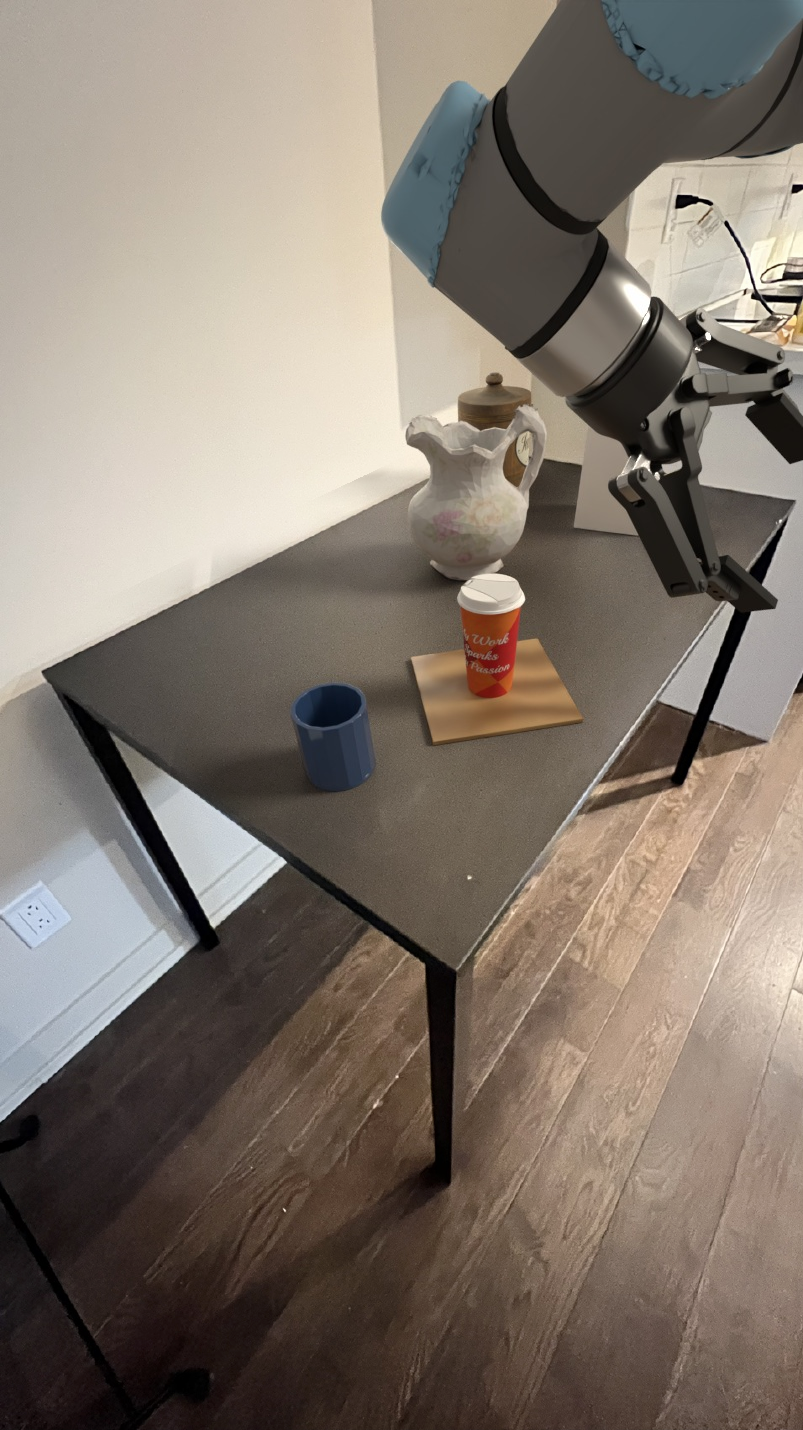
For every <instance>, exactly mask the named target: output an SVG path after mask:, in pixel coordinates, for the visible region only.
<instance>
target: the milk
mask: <svg viewBox="0 0 803 1430" xmlns="http://www.w3.org/2000/svg"><path fill="white" fill-rule="evenodd" d="M628 460H629V458H628V456H627V453H626V451H625V449H624V447H623V446H622V444H621V443H620V442H619V441H617V440H615V439H612V438H610V437H606V436H603V435H600V434H598V433H597V432H595V431H594V430H593V429H592V428H591V427H590V426H589V425H588V424H587V430H586V438H585V445H584V451H583V459H582V465H581V473H580V478H579V485H578V486H579V487H578V493H577V501H576V507H575V508H576V509H575V514H574V521H573V528H574V529H580V530H581V529H583V530H590V531H597V532H606V533H614V534H622V535H631V536H636V537H637V536H638V537H639V535H638V533H637V531H636V529H635V527H634V525H633V523H632V521H631V519H630V517H629V515H628V513H627V511H626V509H625V508H624V507H623V506H622V505H621V504H620V503H619V502H618V501H617V500H616V499H615V498H614V497H613V496H612V495H611V493H610V492H609V489H608V482H609V480H610V479H611V478H613V477H616V476H618V475H621V474H622V472H623V470H624V468H625V466H626V464H627V462H628Z"/></svg>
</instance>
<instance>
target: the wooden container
mask: <svg viewBox="0 0 803 1430" xmlns="http://www.w3.org/2000/svg"><path fill="white" fill-rule="evenodd" d="M503 382H504V377H503V375H502V374H500V372H491V373H489V374H488V375H487V376H486V377H485V383H486V384H487V385H486V386H484V387H476V388H472V389H469V390H467V391H463V392H461V393H460V394H459V395H458V396H457V422H459V421H464V422H467V423H468V424H470V425H472V426H473V427H475V428H477V429H478V430H480V431H482V430H485V429H490V428H494V427H496V428H501V429H507V428H508V426H509V425H510V424H511V422H512V420H513V419H514V417H515V412H516V411H514V409H516V408H518V406H520V407H522V405H528V404H529V405H530V407H531V404H532V391H530V390H529V389H527V388H523V387H520V386H511V385H503ZM530 434H531V433H530V432H529V431H528V432H525V433H523V434H521V435H520V436H518V437H517V438H516V439H515V440H514V441H513V442H512V443H511V444H510V445H509V447H508V449H507V451H506V454H505V458H504V462H503V474H504V477H505V479H506V480H508V481H509V482H510V483H511V484H513V485H514V486H516V487H519V486H520V484H521V481H522V479H523V475H524V472H525V469H526V467H527V464H528V462H529V460H530V458H529V457H530Z"/></svg>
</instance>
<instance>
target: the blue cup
mask: <svg viewBox="0 0 803 1430" xmlns="http://www.w3.org/2000/svg"><path fill="white" fill-rule="evenodd" d="M369 717H370V716H369V711H368V705H367V699H366V695H365V694H364V693H363V692H362V691H361V690H360V688H358V687H357V686H354V685H352V684H350V683H344V682H336V681H335V682H327V683H321V684H316V685H315V686H312V687H310V688H307V689H305V690H304V691H303V692H301V693H300V694H299V695H297V696H296V697H295V699H294V701H293V702H292V704H291V705H290V718H291V723H292V726H293V730H294V734H295V737H296V741H297V746H298V749H299V754H300V757H301V761H302V765H303V769H304V772H305V774H306V777H307V779H308V781H309V782H310V784H312V785H313V786H315V787H316V788H318V789H320V790H323V791H327V792H343V791H348V790H351V789H354V788H357V787H359V786H360V785H362V784H363V783H365V782H366V781H367V780H368V779H369V778H370V777H371V776H372V774H373V772H374V771H375V767H376V757H375V751H374V745H373V744H374V743H373V736H372V731H371V724H370V718H369Z"/></svg>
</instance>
